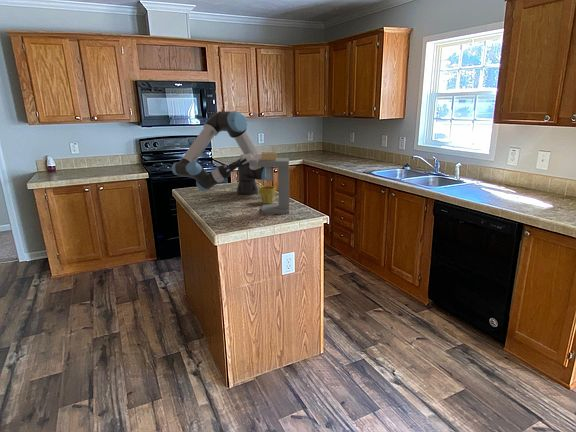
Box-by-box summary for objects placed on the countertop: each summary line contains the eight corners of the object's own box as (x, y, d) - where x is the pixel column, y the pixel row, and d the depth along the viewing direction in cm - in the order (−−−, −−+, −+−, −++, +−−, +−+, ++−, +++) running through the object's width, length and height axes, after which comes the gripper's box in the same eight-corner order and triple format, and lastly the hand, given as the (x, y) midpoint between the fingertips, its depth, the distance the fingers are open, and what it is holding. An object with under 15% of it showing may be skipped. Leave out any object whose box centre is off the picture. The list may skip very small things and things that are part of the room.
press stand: (261, 208, 226) (259, 158, 217) (289, 207, 226) (288, 158, 217) (259, 213, 215) (257, 161, 206) (289, 213, 214) (288, 161, 206)
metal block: (241, 159, 215) (241, 152, 213) (276, 158, 214) (276, 151, 213) (240, 160, 209) (239, 153, 208) (276, 160, 209) (276, 153, 207)
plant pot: (256, 203, 236) (256, 188, 233) (263, 199, 245) (263, 185, 242) (271, 205, 232) (271, 189, 229) (278, 201, 241) (277, 186, 238)
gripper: (228, 174, 227) (258, 157, 224) (221, 183, 203) (254, 163, 200) (221, 164, 225) (251, 146, 222) (213, 171, 201) (246, 151, 198)
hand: (252, 154), depth 211 cm, fingers open, 13 cm apart
